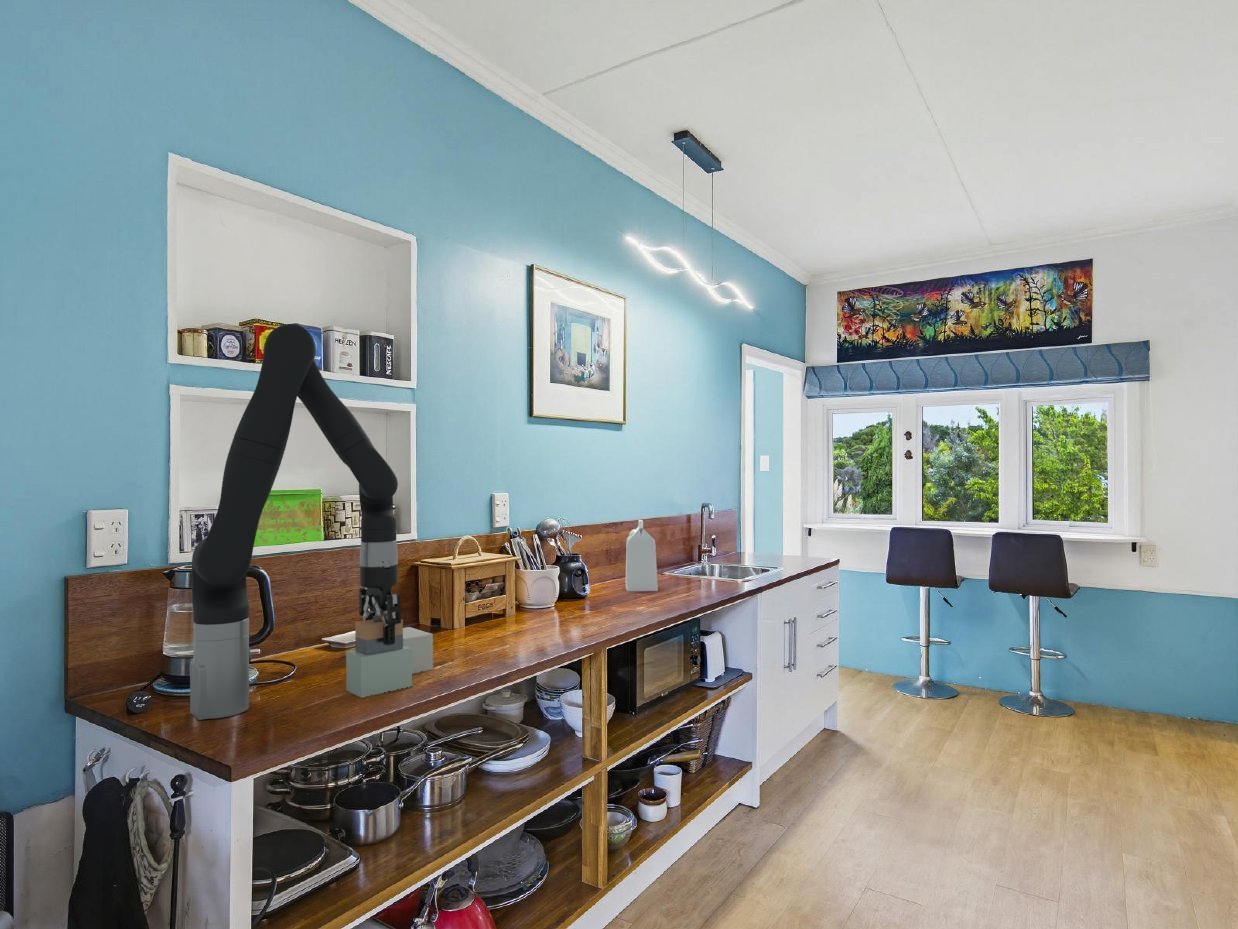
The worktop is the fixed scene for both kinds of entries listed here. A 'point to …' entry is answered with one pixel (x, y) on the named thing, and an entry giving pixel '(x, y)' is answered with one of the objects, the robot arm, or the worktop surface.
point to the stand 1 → (378, 671)
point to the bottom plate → (377, 645)
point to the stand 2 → (419, 648)
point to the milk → (641, 561)
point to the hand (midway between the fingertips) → (379, 641)
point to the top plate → (374, 628)
